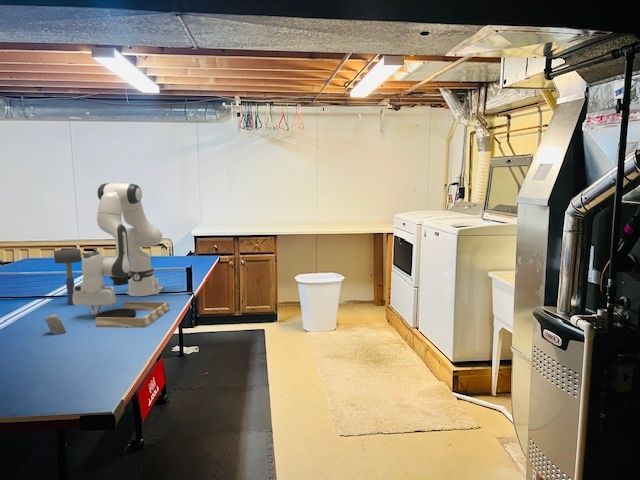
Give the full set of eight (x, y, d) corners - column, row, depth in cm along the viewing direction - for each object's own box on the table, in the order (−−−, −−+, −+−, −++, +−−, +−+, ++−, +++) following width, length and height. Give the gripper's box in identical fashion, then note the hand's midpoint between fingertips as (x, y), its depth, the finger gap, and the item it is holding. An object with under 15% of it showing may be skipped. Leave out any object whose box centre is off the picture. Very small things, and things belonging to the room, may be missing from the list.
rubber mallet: (85, 301, 253) (80, 247, 249) (84, 304, 247) (80, 249, 243) (59, 304, 248) (54, 249, 244) (58, 307, 241) (53, 251, 237)
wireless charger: (141, 312, 232) (140, 308, 232) (128, 323, 214) (127, 318, 214) (105, 312, 231) (105, 309, 231) (89, 323, 214) (88, 319, 214)
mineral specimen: (59, 326, 207) (60, 310, 205) (67, 334, 202) (68, 317, 200) (41, 330, 202) (42, 313, 200) (49, 338, 196) (50, 321, 195)
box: (125, 309, 237) (125, 301, 236) (169, 309, 235) (168, 302, 235) (95, 326, 209) (95, 317, 209) (144, 327, 208) (144, 318, 207)
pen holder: (131, 282, 300) (130, 267, 298) (124, 285, 291) (123, 270, 289) (117, 282, 301) (116, 267, 299) (109, 285, 291) (108, 269, 290)
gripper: (117, 284, 224) (119, 312, 226) (77, 284, 226) (79, 311, 227) (110, 287, 218) (112, 316, 220) (69, 287, 219) (71, 315, 221)
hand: (95, 313), depth 224 cm, fingers closed
